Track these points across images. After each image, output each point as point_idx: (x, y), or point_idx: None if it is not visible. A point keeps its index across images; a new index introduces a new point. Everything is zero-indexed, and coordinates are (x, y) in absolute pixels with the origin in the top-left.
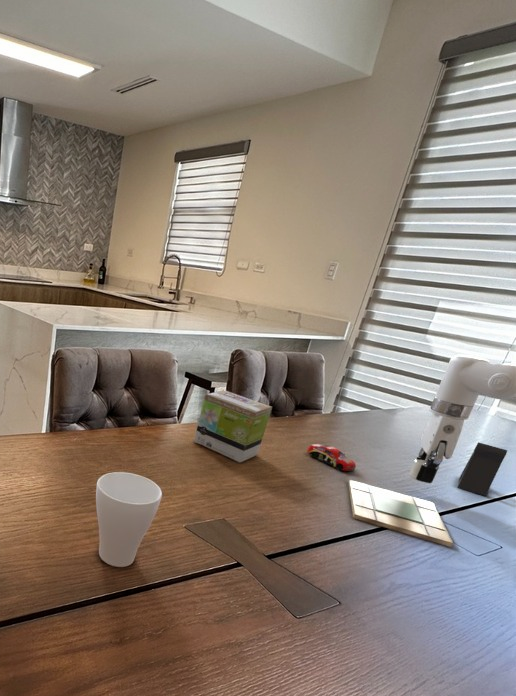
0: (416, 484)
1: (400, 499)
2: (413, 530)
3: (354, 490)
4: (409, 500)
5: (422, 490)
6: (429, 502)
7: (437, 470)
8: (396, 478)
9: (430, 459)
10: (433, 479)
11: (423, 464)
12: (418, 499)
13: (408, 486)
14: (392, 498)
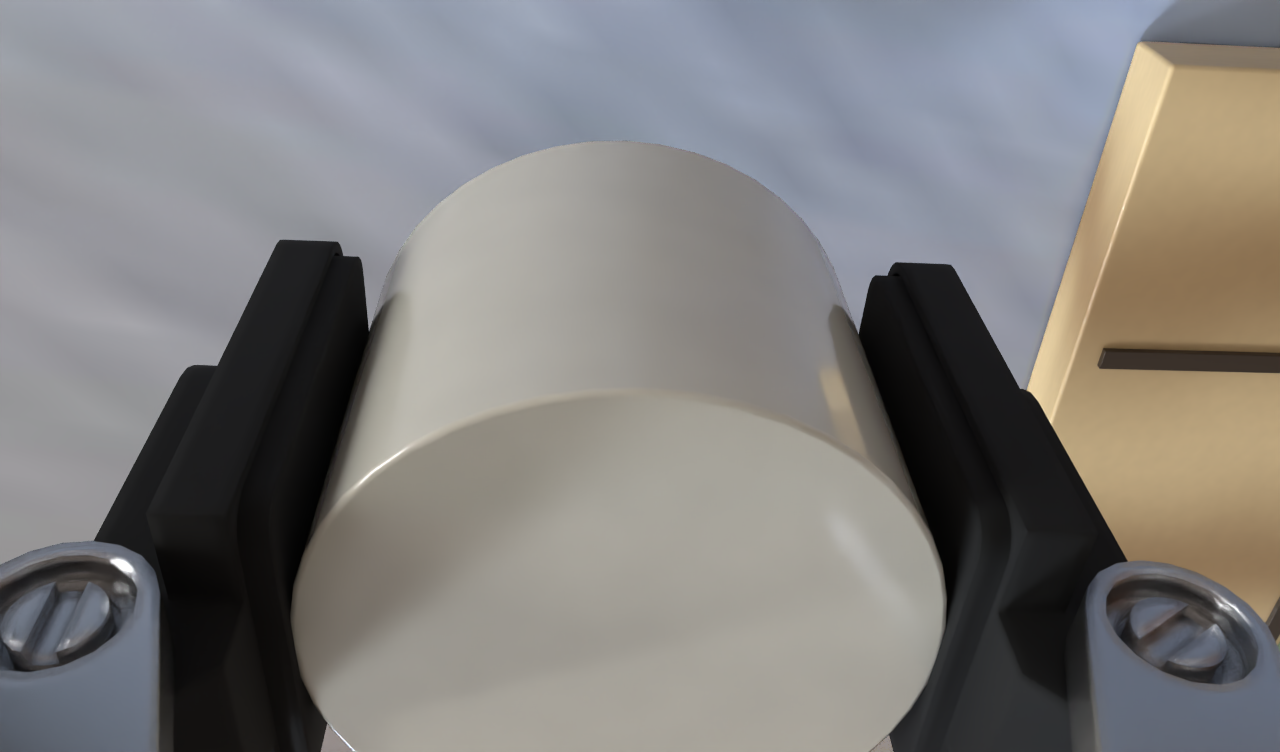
0: (124, 76)
1: (1252, 522)
2: None
3: None
4: (1239, 420)
5: (394, 24)
6: (1201, 135)
7: (772, 352)
8: (145, 373)
9: (130, 561)
10: (738, 199)
11: (767, 728)
12: (1139, 288)
13: (393, 246)
14: (1257, 600)
